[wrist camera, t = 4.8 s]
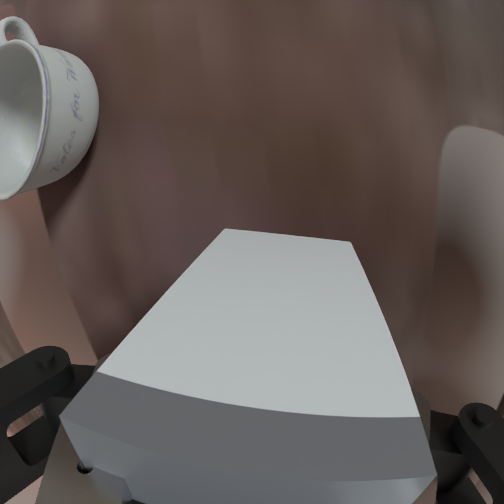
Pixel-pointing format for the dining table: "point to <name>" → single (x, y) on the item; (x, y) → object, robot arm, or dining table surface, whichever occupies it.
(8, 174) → the teacup
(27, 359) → the robot arm
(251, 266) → the plug
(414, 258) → the dining table surface
